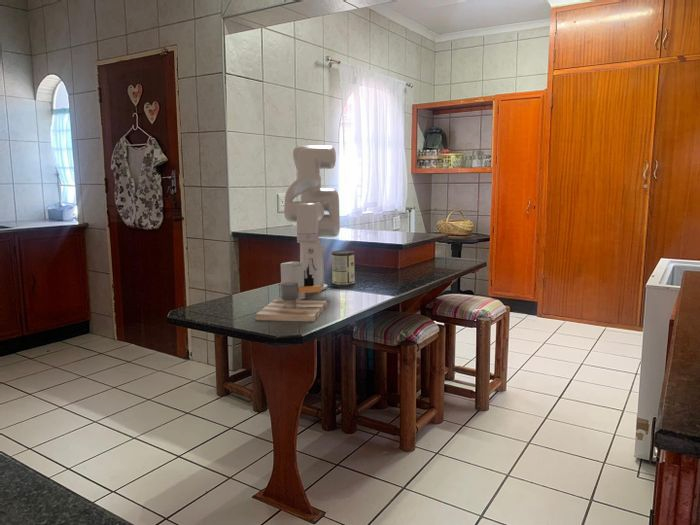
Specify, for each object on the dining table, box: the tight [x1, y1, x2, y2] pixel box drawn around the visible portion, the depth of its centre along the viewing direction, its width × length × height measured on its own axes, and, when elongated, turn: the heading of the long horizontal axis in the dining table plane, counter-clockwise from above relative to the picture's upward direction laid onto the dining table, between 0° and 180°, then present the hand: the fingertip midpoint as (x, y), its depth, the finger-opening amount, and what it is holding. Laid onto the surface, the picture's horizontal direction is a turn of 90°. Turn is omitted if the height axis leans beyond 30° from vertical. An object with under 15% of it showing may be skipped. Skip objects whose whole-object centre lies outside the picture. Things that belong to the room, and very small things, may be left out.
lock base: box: [255, 299, 328, 323], centre depth 191 cm, size 22×20×5 cm
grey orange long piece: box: [280, 282, 322, 300], centre depth 191 cm, size 14×6×5 cm, turn 103°
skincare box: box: [280, 261, 306, 300], centre depth 211 cm, size 8×6×15 cm
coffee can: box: [331, 249, 356, 286], centre depth 244 cm, size 10×10×14 cm
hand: (308, 288), depth 194 cm, fingers closed
